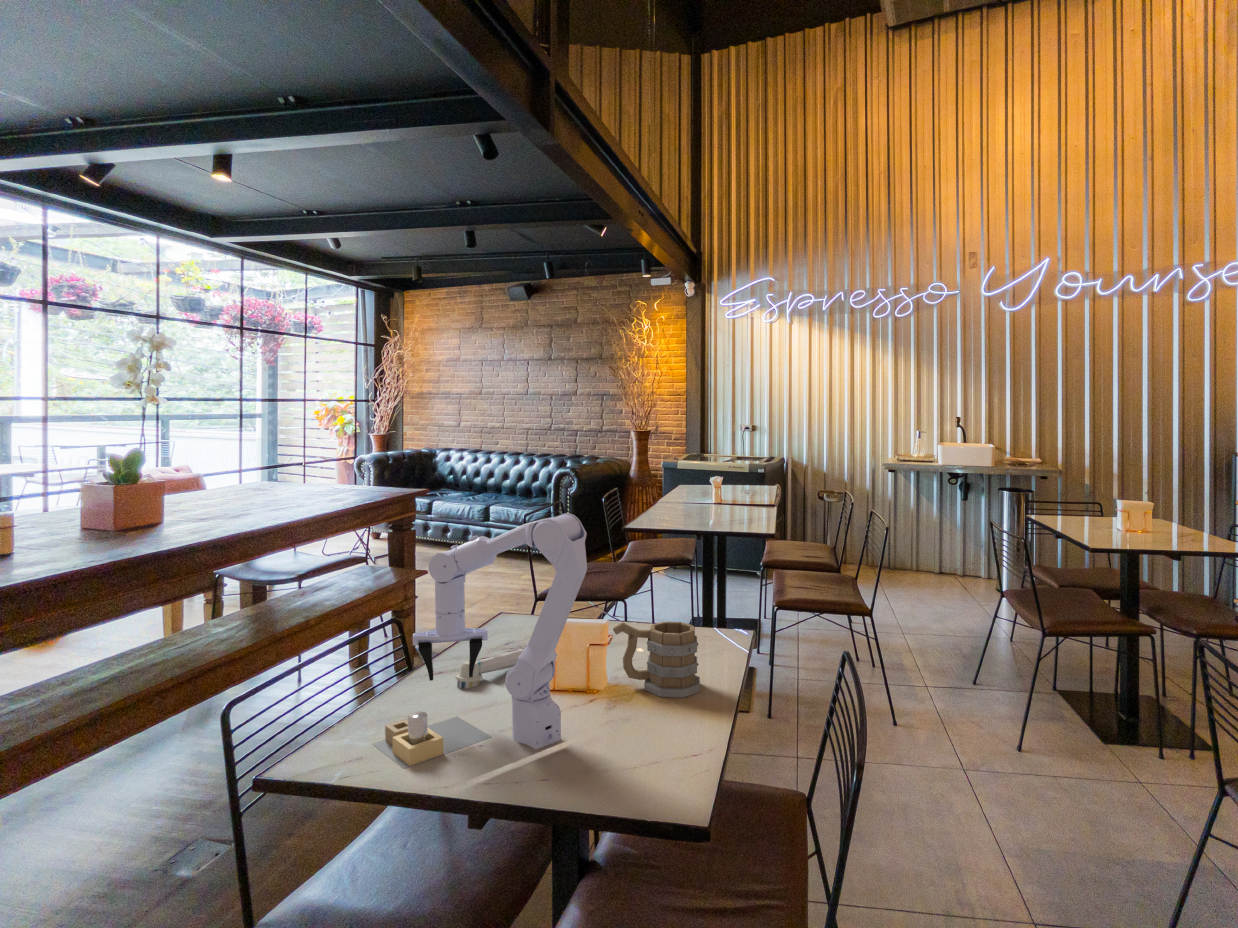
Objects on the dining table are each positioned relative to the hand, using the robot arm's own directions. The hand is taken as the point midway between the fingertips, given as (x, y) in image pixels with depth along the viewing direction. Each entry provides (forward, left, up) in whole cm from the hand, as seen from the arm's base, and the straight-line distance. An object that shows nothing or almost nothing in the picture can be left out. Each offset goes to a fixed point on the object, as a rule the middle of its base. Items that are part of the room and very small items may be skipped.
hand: (451, 677), depth 140 cm
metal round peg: (-8, +11, -9) cm, 17 cm away
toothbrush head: (+18, -23, -10) cm, 31 cm away
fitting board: (-5, +7, -10) cm, 13 cm away
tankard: (-14, -45, -10) cm, 48 cm away
